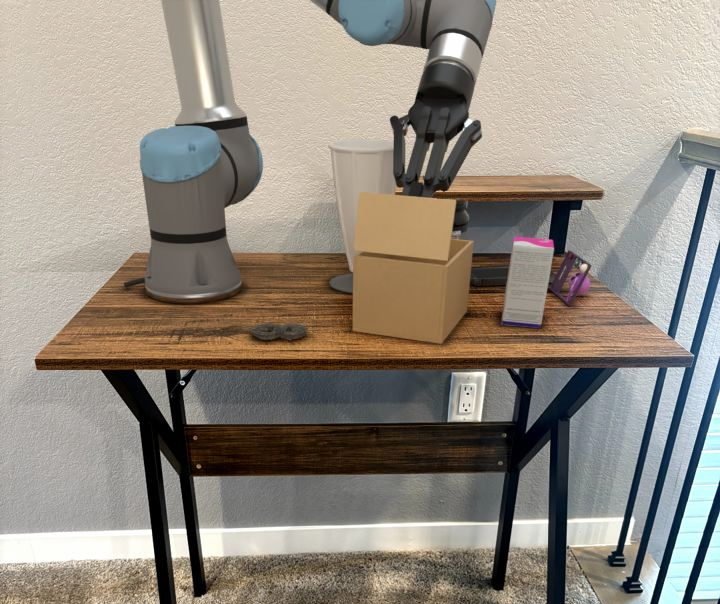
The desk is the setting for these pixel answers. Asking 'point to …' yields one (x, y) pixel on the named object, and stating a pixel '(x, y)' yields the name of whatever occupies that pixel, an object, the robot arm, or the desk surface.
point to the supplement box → (527, 282)
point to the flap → (404, 225)
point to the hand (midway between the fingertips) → (407, 231)
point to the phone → (493, 275)
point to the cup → (358, 187)
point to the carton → (411, 293)
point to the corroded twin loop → (278, 331)
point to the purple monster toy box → (577, 282)
